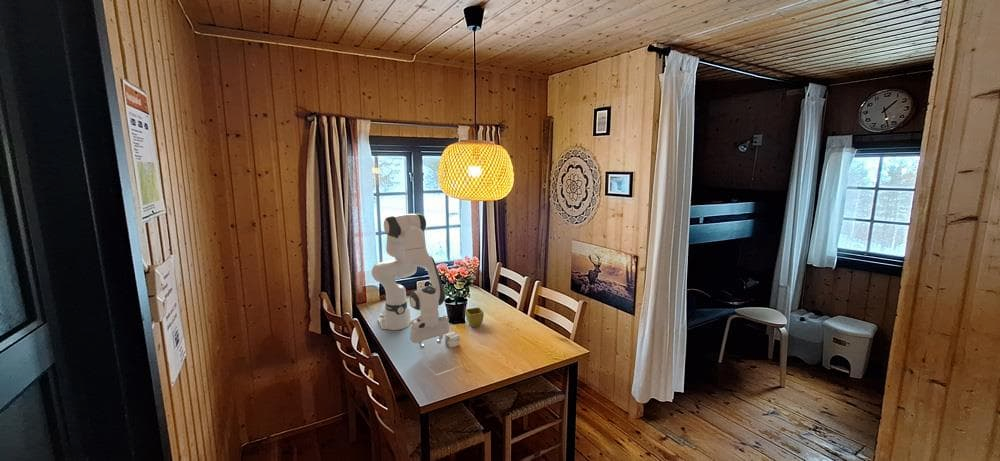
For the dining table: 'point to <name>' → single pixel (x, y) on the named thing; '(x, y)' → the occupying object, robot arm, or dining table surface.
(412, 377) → the dining table surface
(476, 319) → the flower pot
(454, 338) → the letter cube
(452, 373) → the dining table surface
